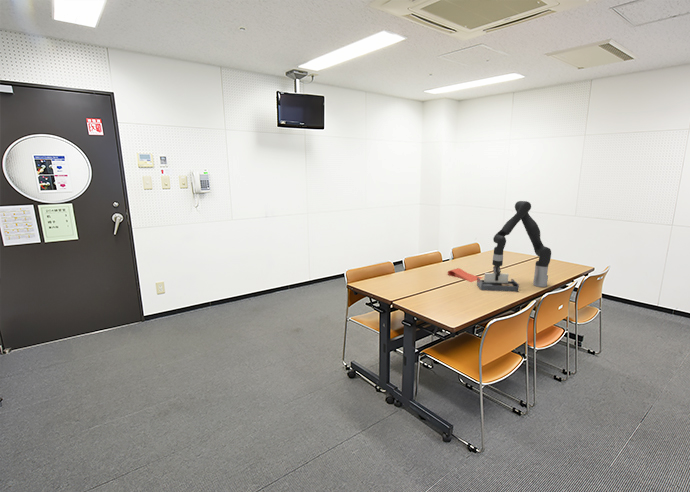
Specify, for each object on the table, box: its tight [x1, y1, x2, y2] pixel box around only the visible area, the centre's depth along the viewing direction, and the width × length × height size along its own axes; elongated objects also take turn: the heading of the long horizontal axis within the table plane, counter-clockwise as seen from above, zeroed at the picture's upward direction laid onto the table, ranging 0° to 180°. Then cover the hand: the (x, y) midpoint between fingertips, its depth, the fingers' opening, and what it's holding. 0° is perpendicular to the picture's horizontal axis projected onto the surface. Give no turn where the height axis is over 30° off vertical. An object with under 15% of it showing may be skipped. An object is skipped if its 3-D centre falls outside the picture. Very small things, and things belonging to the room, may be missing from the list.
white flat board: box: [483, 272, 509, 283], centre depth 286 cm, size 18×2×11 cm, turn 82°
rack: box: [476, 278, 520, 293], centre depth 282 cm, size 28×15×6 cm, turn 82°
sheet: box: [447, 267, 483, 283], centre depth 313 cm, size 6×30×24 cm
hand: (496, 279), depth 286 cm, fingers closed on white flat board, 2 cm apart
